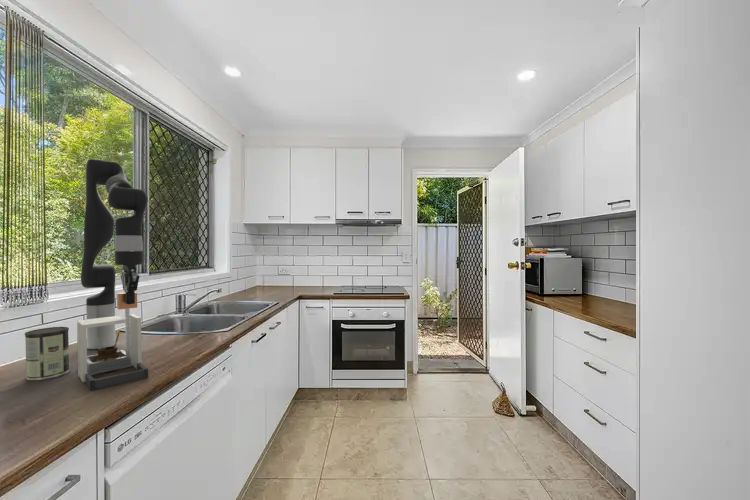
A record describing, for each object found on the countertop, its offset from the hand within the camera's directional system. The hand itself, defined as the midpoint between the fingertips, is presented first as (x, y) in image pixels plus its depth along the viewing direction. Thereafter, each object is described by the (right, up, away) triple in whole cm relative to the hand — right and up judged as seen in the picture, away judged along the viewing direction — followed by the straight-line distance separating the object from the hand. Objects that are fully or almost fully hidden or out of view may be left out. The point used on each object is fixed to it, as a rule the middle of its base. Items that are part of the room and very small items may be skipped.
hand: (130, 303), depth 116 cm
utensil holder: (-8, -22, +2) cm, 24 cm away
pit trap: (+1, -22, -7) cm, 23 cm away
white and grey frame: (-6, -22, 0) cm, 23 cm away
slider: (-9, -21, +3) cm, 23 cm away
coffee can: (-24, -22, -2) cm, 33 cm away
